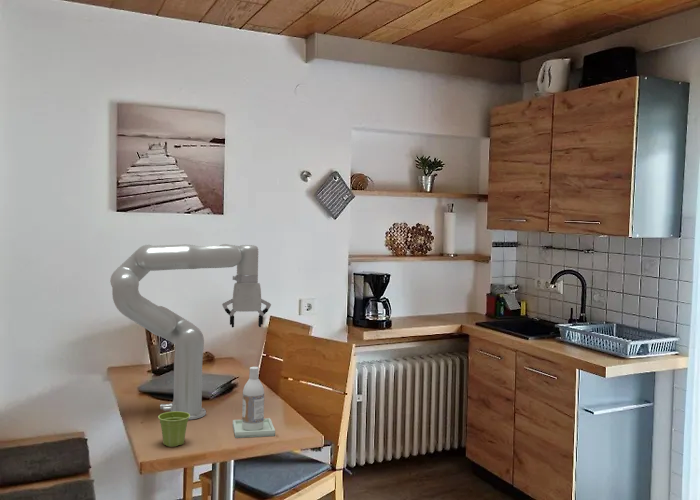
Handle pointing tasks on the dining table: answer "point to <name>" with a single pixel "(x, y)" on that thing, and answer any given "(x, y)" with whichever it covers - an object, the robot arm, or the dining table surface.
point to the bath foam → (253, 402)
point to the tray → (242, 433)
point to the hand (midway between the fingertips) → (246, 326)
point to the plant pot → (173, 427)
